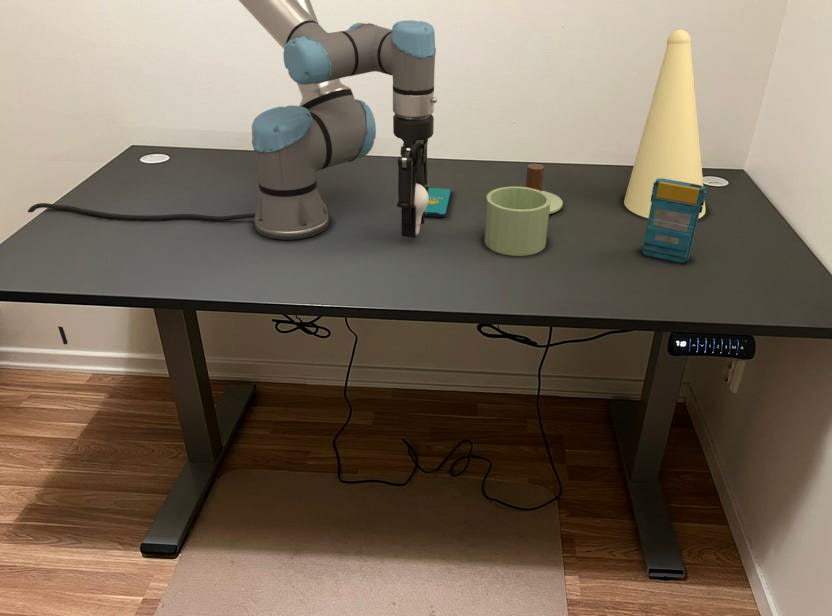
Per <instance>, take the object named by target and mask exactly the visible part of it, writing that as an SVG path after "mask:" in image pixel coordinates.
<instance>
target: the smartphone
mask: <svg viewBox="0 0 832 616" xmlns="http://www.w3.org/2000/svg"><path fill="white" fill-rule="evenodd" d="M427 193H428V197H429V201H428V205H427V207H426V209H425V210H424V217H433V218H445V217H446V216H447V213H448V208H449V204H450V199H451V194H452V190H451V189H450V188H437V187H435V188H434V187H433V188H432V187H429V190H428V192H427Z"/></svg>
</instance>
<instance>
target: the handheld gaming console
mask: <svg viewBox="0 0 832 616" xmlns="http://www.w3.org/2000/svg"><path fill="white" fill-rule="evenodd" d="M652 193H653V194H652V196H651V202H652V203H651V208H650V213H649V218H647V225H646V229H645V235H644V241H643V246H642V251H641V253H642V254H644V256H645V257H649V258H655V259H659V260H663V261H670V262H674V263H678V264H684V263H685V262H686V263H689V260H690V256H691V254H692V247H693V243H694V239H695V235H696V230H697V226H698V222H699V219H700V218H699V214H700V213H701V212H702V208H703V207H702V206H703V204H704V201H705V202H706V195H707V190H706V186H704V185H703V186H702V185H697V184H691V183H686V182H680V181H674V180H669V179H663V178H662V179H659V178H657V180H656V182H654V184H653V190H652ZM698 218H699V219H698Z"/></svg>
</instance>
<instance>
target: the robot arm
mask: <svg viewBox="0 0 832 616" xmlns="http://www.w3.org/2000/svg"><path fill="white" fill-rule="evenodd" d="M238 2H239V3H240V4H241V5H242V6H243V7H244V8H245V10H247V12H249V13H250V14H251V16H252V17H253V18H254V19H255V20H256V21H257V22H258V23H259V25H260V26H261V27H263V28H264V30H265V31H266V32H267V33H268V34H269V35H270V36H271V37H272V38H273V40H274V41H276V43H277V44H278V45H279V46H280V47H281V48H282V49H283V52H282V53H283V54H282V55H283V56H282V57H283V63H284V68H285V69H286V70H287V72H288V76H289V78H290V79H291V80H292V81H293V82H295V83H296V85H297V87H298V90H299V92H300V95H301V100H300V103H299V105H287V106H282V105H281V106H277V107H272V108H270V109H267V110H265V111H263V112H260V113H259V114H258V115H256V117H255V118H254V119H253V122H252V123H251V145H252V148H253V152H254V160H255V167H256V174H257V175H256V176H257V181H258V189H259V195H258V199H257V204H256V208H255V209H256V210H255V212H254V213H253V212H252V213H240V214H239V213H238V214H232V215H207V214H197V213H176V214H175V213H174V214H157V215H152V214H151V215H149V214H147V215H145V214H144V215H142V214H136V215H135V214H122V213H121V214H119V213H110V212H102V211H97V210H91V209H85V208H81V207H77V206H70V205H63V204H62V205H61V204H54V203H47V202H40V203H36V204H33V205H32V206H30V207H29V208H28V209H27V213H33V212H35V211H36V210H38V209H42V208H43V209H53V210H60V211H69V212H75V213H79V214H84V215H90V216H94V217H101V218H107V219H117V220H128V221H129V220H131V221H164V220H181V219H182V220H183V219H185V220H186V219H188V220H189V219H190V220H203V221H213V222H225V221H233V220H234V221H235V220H243V219H245V220H247V219H254V226H255V230H256V232H257V233H258V234H259V235H260V236H263V237H265V238H268V239H272V240H280V241H296V240H303V239H308V238H312V237H314V236H317V235H320V234H321V233H323V232H324V231H326V229H328V228H329V225H330V220H329V212H328V209H327V206H326V204H325V202H324V200H323V199H322V196H321V194H320V191H319V189H318V183H317V172H319V171H321V170H325V169H328V168H330V167H331V168H332V167H334V166H338V165H341V164H344V163H345V164H346V163H351V162H354V161H356V160H357V159H360V158H363V157H365V156H367V155H368V154H369V153H370V152H371V150H372V149H373V147H374V145H375V139H376V137H377V136H376V135H377V125H376V120H375V116H374V113H373V110H372V109H371V107H370V106H369V105H368V104H366V102H364V101H363V100H361V99H358V98H357V99H355V95H354V92H353V90H352V87H349V86H347V85H346V84H343V83H342V81H341V79H343V78H346V77H347V78H348V77H353V76H359V75H363V74H368V73H373V72H377V73H382V74H384V75H388V76H392V112H393V113H394V115H393V116H392V119H393V120H392V123H393V124H392V125H393V126H392V130H393V131H392V132H393V135H394V136H395V137H396V138H397V139H400V140H402V146H401V147H400V156H398V157H397V167H398V171H397V172H398V173H397V174H398V177H397V178H398V179H397V182H398V184H397V185H398V187H397V203H396V207H397V208H399V209H400V210H401V237H402V238H403V237H404V238H411V239H415V238H416V236H417V235H416V206H415V204H414V202H415V190H416V183H417V184H420V185H421V186H423V187H424V188H425V189H426V191H427V192H428V190H429V188H430V187H429V186H427V185H428V182H429V181H428V145H429V143H428V142H429V139H430V138H432V137H433V135H434V129H435V127H434V126H435V125H434V121H435V117H434V115H433V113H434V110H435V108H434V106H435V104H436V103H437V102H438V98H437V97H436V96H434V94H435V69H436V68H435V67H436V65H435V64H436V54H437V47H436V35H435V32H436V31H435V28H434V26H433V25H432V24H431V23H429V22H427V21H423V20H420V21H419V20H410V19H409V20H399V21H396V22H395V23H394V24H392V27H391V29H390V28H387V27H384V26H380V25H377V24H374V23H371V22H368V23H365V22H356V23H353V24H352V25H350V27H349V28H348V29H346V30H339V31H333V32H328V31H326V30H325V29H324V27H322V26H321V24H320V22H319V20H318V18H317V15H316V13H315V10H314V7H313V5H312V2H311V0H238ZM424 224H425V216H424V212H423V214H422V218H421V224H420V225H424ZM57 328H58V331H59V334H60V337H61V341H62V343H63V345H68V344H69V342H68V339H67V337H66V333H65V330H64V326H57Z"/></svg>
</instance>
